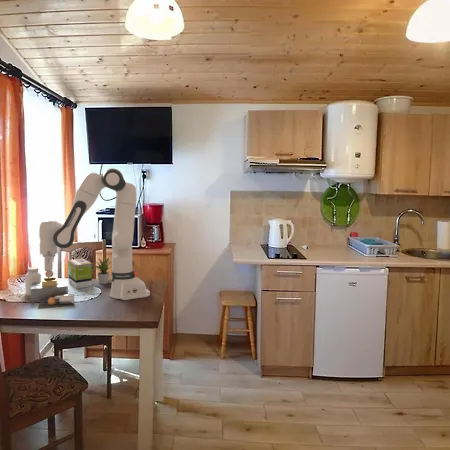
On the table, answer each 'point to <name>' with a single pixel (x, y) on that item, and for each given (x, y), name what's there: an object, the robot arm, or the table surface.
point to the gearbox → (48, 289)
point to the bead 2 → (51, 301)
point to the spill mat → (46, 305)
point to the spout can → (65, 299)
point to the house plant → (103, 271)
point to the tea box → (80, 273)
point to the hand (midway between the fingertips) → (49, 275)
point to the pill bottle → (31, 279)
